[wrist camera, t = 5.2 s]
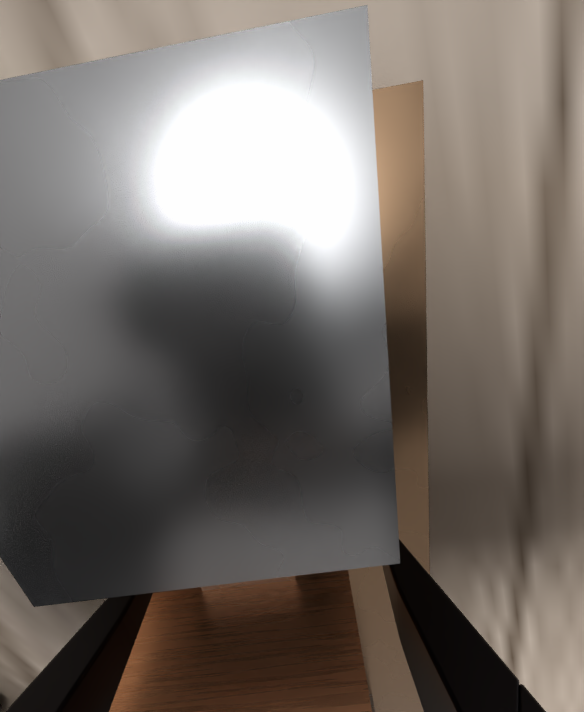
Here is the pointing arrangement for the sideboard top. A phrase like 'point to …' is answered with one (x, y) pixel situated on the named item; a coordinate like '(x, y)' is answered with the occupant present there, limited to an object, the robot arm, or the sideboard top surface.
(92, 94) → the tube base
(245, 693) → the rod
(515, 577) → the sideboard top surface
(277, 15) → the sideboard top surface
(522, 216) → the sideboard top surface
